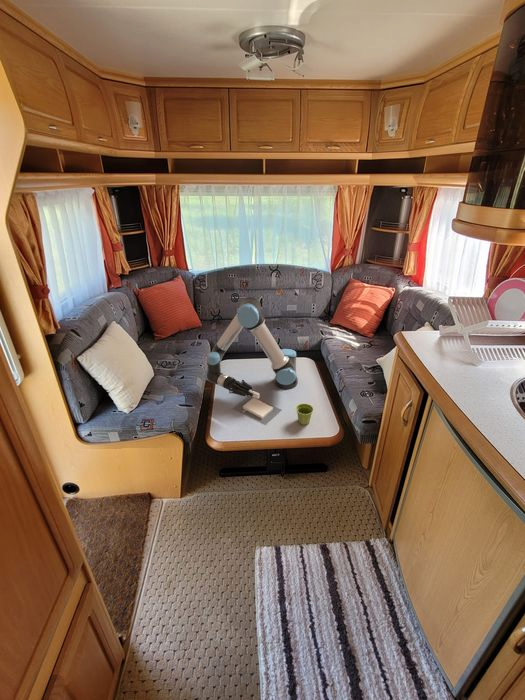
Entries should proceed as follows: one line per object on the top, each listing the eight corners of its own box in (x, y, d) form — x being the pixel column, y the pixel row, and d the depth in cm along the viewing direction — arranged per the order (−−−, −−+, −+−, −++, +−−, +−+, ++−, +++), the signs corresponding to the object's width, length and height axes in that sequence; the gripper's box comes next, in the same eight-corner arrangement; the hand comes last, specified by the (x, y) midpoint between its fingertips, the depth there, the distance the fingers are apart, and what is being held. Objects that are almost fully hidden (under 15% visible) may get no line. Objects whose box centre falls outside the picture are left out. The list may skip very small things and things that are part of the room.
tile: (242, 406, 195) (262, 416, 188) (253, 397, 202) (273, 407, 195) (242, 408, 196) (262, 419, 189) (253, 399, 203) (273, 410, 196)
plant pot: (294, 415, 194) (295, 403, 189) (311, 415, 193) (312, 403, 189) (295, 426, 185) (296, 414, 181) (313, 427, 185) (314, 414, 181)
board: (231, 410, 198) (231, 407, 197) (249, 396, 210) (249, 394, 209) (265, 426, 186) (265, 423, 185) (282, 411, 197) (282, 408, 196)
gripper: (234, 382, 210) (265, 395, 198) (219, 392, 201) (251, 407, 189) (233, 372, 207) (265, 385, 194) (218, 381, 198) (251, 396, 185)
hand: (258, 396), depth 192 cm, fingers closed
